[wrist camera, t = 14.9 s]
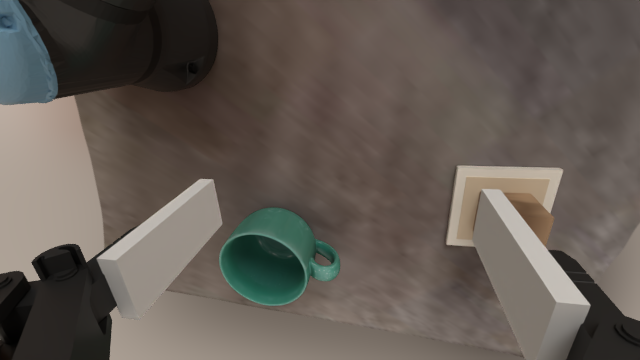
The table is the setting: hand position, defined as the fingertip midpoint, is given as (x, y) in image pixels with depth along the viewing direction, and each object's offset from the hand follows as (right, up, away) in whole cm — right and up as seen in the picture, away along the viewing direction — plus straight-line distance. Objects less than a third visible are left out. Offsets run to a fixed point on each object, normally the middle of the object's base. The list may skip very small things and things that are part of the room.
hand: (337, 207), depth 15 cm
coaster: (+23, -2, +26) cm, 35 cm away
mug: (-5, -7, +35) cm, 36 cm away
